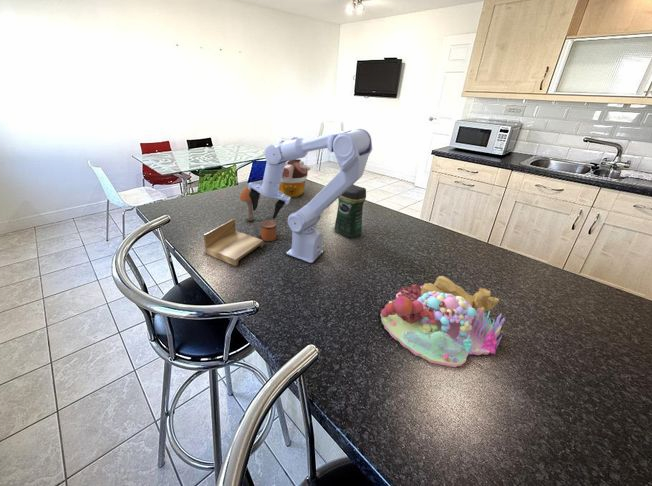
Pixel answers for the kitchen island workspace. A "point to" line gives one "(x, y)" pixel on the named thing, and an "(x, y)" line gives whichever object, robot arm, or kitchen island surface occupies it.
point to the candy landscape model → (443, 322)
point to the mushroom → (245, 197)
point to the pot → (268, 230)
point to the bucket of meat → (293, 178)
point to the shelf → (229, 243)
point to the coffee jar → (350, 211)
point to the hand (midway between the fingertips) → (264, 213)
